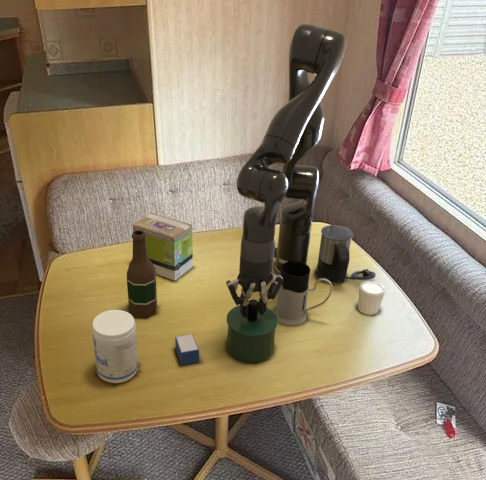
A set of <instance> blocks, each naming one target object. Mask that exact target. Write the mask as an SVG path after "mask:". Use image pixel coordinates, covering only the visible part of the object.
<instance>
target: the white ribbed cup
mask: <svg viewBox="0 0 486 480" xmlns="http://www.w3.org/2000/svg"><path fill="white" fill-rule="evenodd" d="M358 288H359V289H358V297H357V298H358V300H357V309H358V311H359V312H361V313H362V314H364V315H369V316H372V315H373V316H374V315H376V314H378V313H379V310H380V308H381V305H382V302H383V298H384V296H385V293H386V287H385V286H384V285H383V284H381V283H380V282H377V281H373V280H365V281H362V282H361V283H359V287H358Z"/></svg>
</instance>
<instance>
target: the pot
mask: <svg viewBox="0 0 486 480" xmlns="http://www.w3.org/2000/svg"><path fill="white" fill-rule="evenodd" d="M275 336H276V329H275V330H274V331H273V332H271V333H269V334H267V335H264V336H259V337H250V336H244V335H241V334H238V333H236V332H235V331H233V330H232V329H231V328H230V327H229V326H228V325H227V340H226V346H227V351H228V352H229V353H228V354H230V356H231V357H233V358H234V359H236V360H238V361H240V362H243V363H251V364H252V363H253V364H254V363H255V364H256V363H261V362H263V361H266V360H268V359H269V358H270V357H271V356H272V354H273V352H274V346H275Z"/></svg>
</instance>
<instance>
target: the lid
mask: <svg viewBox="0 0 486 480" xmlns="http://www.w3.org/2000/svg"><path fill="white" fill-rule="evenodd" d="M258 303H259V300H258V299H254V298H250V299H249V301H248V317H247V318H244V317H243V316H242V315H241V313H240V304H239V305H236V306H234V307H232V308H231V309H230V310H229V311H228V312H227V314H226V324H227V327H228V326H229V327H230V328H231V329H232V330H233V331H235V332H236V333H238V334H241V335H244V336H250V337H259V336H264V335H267V334H269V333H271V332H273V331H274V330H275V331H276V329H277V327H278V324H279V321H278V318H277V316H276V314H275V313H274V310H272V309H271V308H269V307H268V306H267V307H266V312H264V315H260V313H259V312H258Z"/></svg>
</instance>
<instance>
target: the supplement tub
mask: <svg viewBox="0 0 486 480" xmlns="http://www.w3.org/2000/svg"><path fill="white" fill-rule="evenodd" d="M91 330H92V341H93V349H94V350H93V351H94V358H95V359H94V360H95V367H96V374H97V375H98V377H99V378H100V379H101V380H102V381H104V382H106V383H110V384H120V383H125V382H127V381H129V380H131V379H132V378H133V377H134V376H135V375H137V372H138V368H139V367H138V365H139V364H138V347H137V332H136V331H137V327H136V321H135V318H134V315H133V314H131V313H130V312H128V311H126V310H121V309H110V310H106V311H102V312H100V313H98V314H97V316H95V317H94V319H93V321H92V329H91Z"/></svg>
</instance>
